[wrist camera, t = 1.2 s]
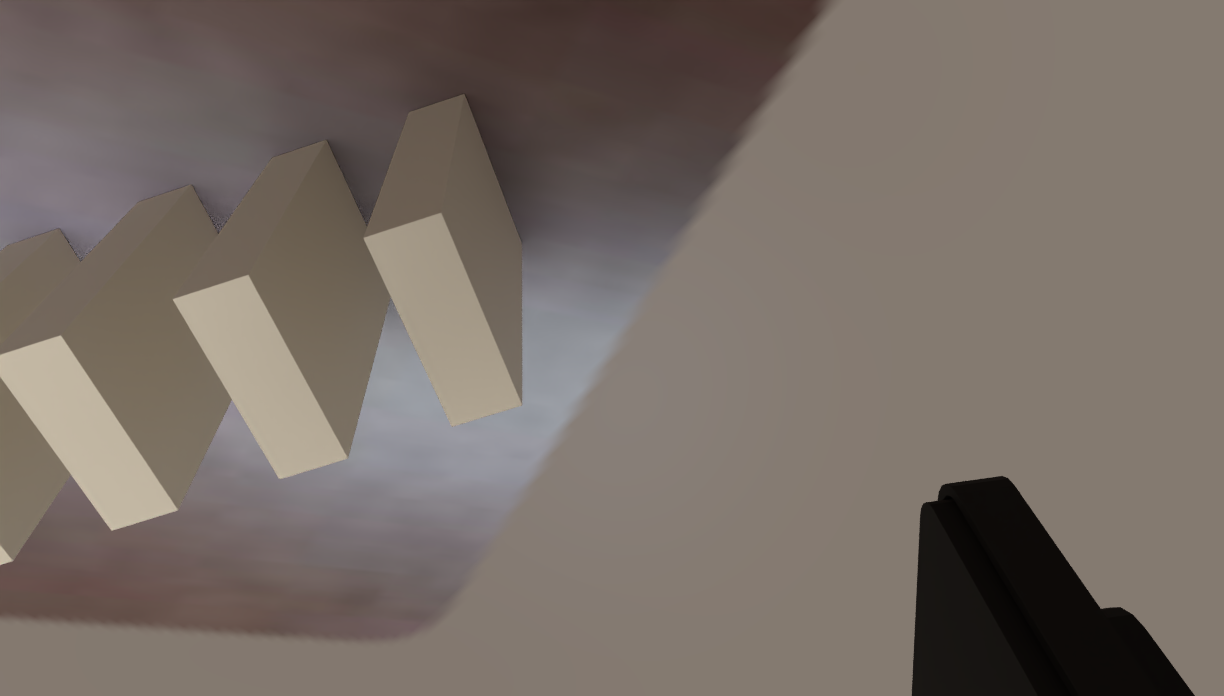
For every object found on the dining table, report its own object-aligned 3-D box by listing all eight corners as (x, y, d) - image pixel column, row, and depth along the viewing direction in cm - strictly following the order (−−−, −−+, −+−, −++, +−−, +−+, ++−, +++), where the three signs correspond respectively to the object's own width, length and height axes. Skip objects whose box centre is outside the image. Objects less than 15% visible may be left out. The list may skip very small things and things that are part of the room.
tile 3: (191, 184, 31) (60, 335, 22) (268, 324, 33) (178, 510, 25) (138, 202, 31) (-14, 359, 22) (218, 340, 33) (111, 530, 25)
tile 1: (464, 93, 30) (441, 213, 21) (522, 244, 33) (522, 405, 24) (409, 112, 30) (363, 237, 22) (470, 260, 33) (451, 426, 24)
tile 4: (59, 228, 31) (-122, 394, 22) (145, 364, 34) (12, 561, 25) (7, 245, 31) (-193, 417, 23) (96, 379, 34) (-53, 580, 25)
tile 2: (326, 139, 30) (248, 274, 22) (393, 284, 33) (347, 458, 24) (272, 157, 31) (172, 298, 22) (343, 300, 33) (279, 479, 24)
